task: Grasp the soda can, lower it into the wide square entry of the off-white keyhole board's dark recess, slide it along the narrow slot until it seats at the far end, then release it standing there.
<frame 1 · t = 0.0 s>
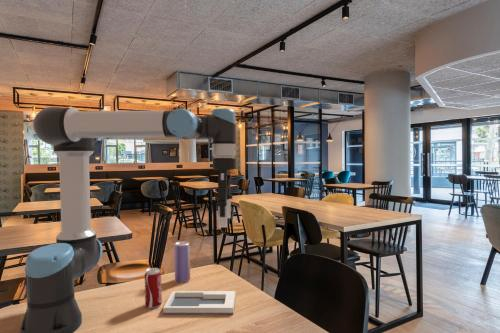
hand: (224, 222, 104), 28 cm above the table, fingers open, 13 cm apart
keyhole board: (201, 305, 105), on the table
beverage can: (182, 280, 127), on the table
soda can: (153, 306, 106), on the table
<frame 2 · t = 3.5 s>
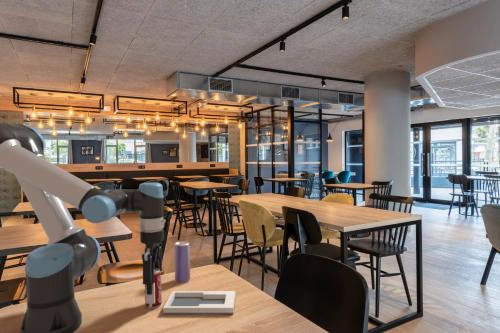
hand: (153, 298, 106), 2 cm above the table, fingers closed on soda can, 5 cm apart
soda can: (153, 306, 106), on the table, touching gripper
everything else where it was.
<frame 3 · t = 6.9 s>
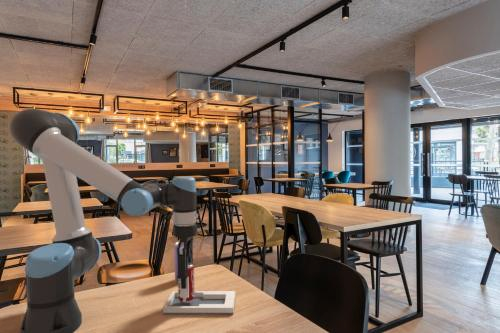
hand: (186, 293, 105), 4 cm above the table, fingers closed on soda can, 5 cm apart
soda can: (186, 300, 105), point 2 cm above the table, touching gripper
everything else where it was.
when the fingers open (3 cm above the table, at t = 10.4 s): soda can stays where it is, resting on keyhole board.
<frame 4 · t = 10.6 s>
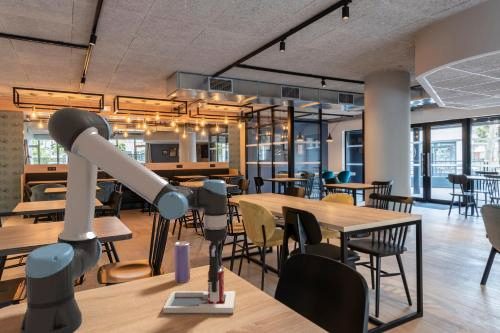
hand: (216, 294, 105), 4 cm above the table, fingers open, 8 cm apart
soda can: (216, 304, 105), resting on keyhole board
everything else where it was.
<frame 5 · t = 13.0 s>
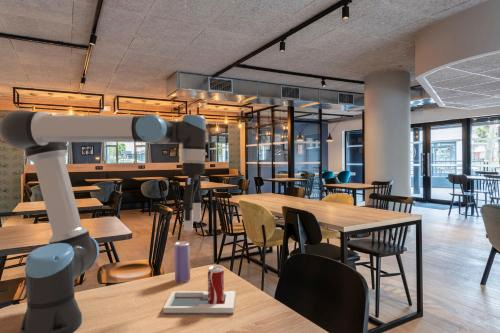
hand: (192, 225, 106), 26 cm above the table, fingers open, 13 cm apart
nothing on the table moved.
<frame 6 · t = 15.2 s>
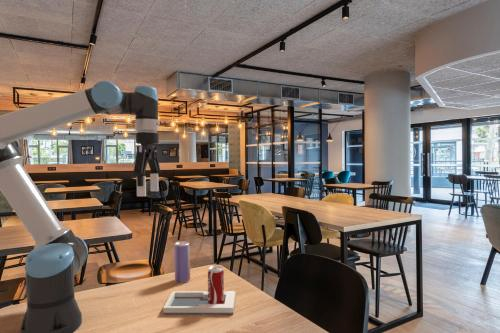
hand: (148, 193, 110), 37 cm above the table, fingers open, 13 cm apart
nothing on the table moved.
at the end: soda can 0.1 cm from the target spot on the keyhole board, point 0.4 cm above the keyhole board's base; soda can tilted 0°; the gripper is holding nothing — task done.
